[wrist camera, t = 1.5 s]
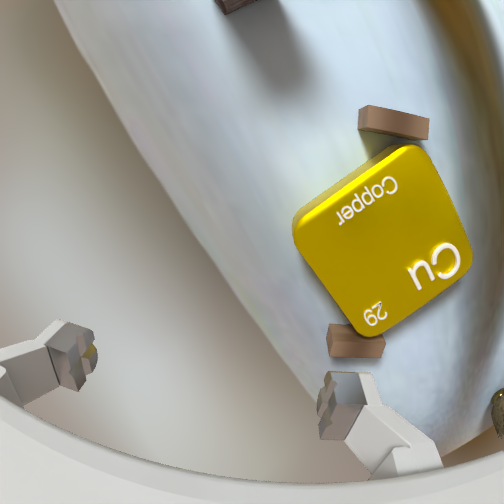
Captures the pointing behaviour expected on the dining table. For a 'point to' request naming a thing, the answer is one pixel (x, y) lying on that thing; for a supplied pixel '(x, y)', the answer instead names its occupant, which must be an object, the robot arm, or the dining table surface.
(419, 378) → the dining table surface
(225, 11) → the box
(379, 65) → the dining table surface
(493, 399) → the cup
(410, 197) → the element tile
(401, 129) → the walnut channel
